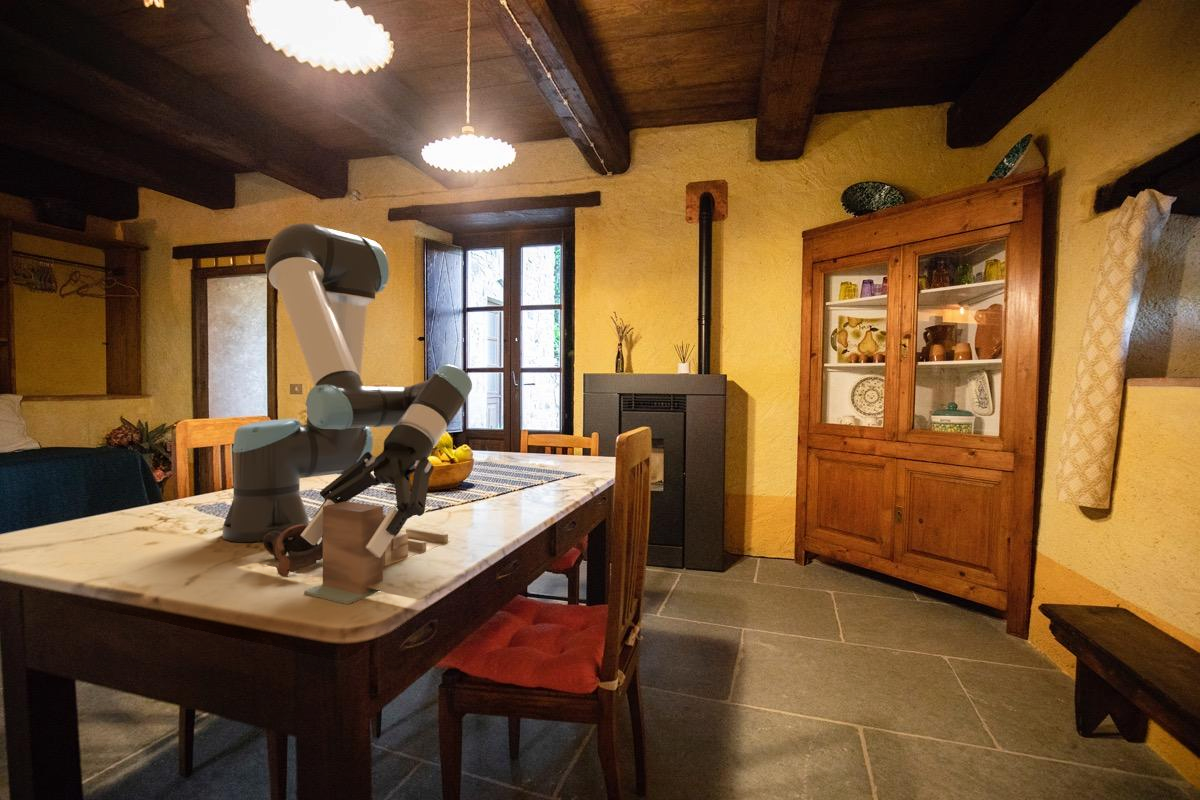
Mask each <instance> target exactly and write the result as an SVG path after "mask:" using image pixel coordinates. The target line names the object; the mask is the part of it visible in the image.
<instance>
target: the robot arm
mask: <svg viewBox="0 0 1200 800" xmlns="http://www.w3.org/2000/svg"><path fill="white" fill-rule="evenodd" d="M264 267H265V272H266V274H267V278H268V280H269V283H270V284H271V286H272V287H273V288H275V289H276V290H278V291H279V293H280V296H281V299H282V301H283V303H284V306H285V309H286V312H287V316H288V317H289V320H290V323H291V326H292V329H293V331H294V334H295V337H296V340H297V342H298V345H299V347H300V351H301V353H302V356H303V359H304V361H305V364H306V367H307V369H308V372H309V375H310V377H311V380H312V383H313V385H314V387H312V388H311V389H310V390H309V391H308V393H307V396H306V400H305V407H306V417H307V418H306V424H301V421H300V419H298V418H282V419H269V420H262V421H257V422H256V421H255V422H250V423H248V424H244V425H241V426H239V427H238V428H237V429H236V430H235V432H234V435H233V436H234V437H233V445H232V446H233V447H232V449H231V450H232V453H233V458H232V459H233V477H232V479H233V497H232V498H233V499H232V501H231V504H230V507H229V510H228V512H227V515H226V517H225V519H224V523H223V525H222V539H223V540H225V541H229V542H233V543H234V542H235V543H255V541H257V542H263V541H262V540H263V539H264V536H265V535H266V534H267V533H268V532H271V531H280V532H283V531H285V530H286V529H288V528H290V527H292V526H295V525H299V524H308V526H307V527H306V528H305V530H304V531H303V532H302V534H301V535H300V536H302V537H303V538H304V539H305V540H307V541H308V542H309V543H310V544H312V545H316V543H317V544H318V542H319V540H320V539H322V535H323V506H327V505H332V504H336V503H341V502H349V501H350V500H351V499H354V497H356V496H359V495H360V494H361V493H364V491H366V490H368V489H370V488H371V487H376V486H379V485H380V484H382V485H383V484H386V485H387V484H390V485H394V489H395V498H396V504H394V506H395V508H390V509H389V511H388V512H387V514H386V515H387V516H386V517H385V519H384V520H383V522H382V523H381V525H380V526H379V528H378V529H377V531H376V532H375V534H374V535H373V537H372V538H371V540H370V541H369V543H368V545H367V546H366V548H367V549H368V550H369V551H370V552H371V553H372V554H374V555H375V556H376V557H379V558H381V556H382V554H383V553H384V551H385V550H386V548H387V546H388V545H389V543H390V542H391V540H392V538H393V537H394V535H395V536H396V535H397V534H398V533H401V532H400V531H401V530H402V528H404V527H403V526H404V525H405V523H407V520H408V519H410V518H412V516H415V515H417V516H418V517H421V516H422V515H424V514H425V511H426V503H427V496H428V490H429V489H428V488H429V482H430V477H431V475H432V473H433V471H434V468H435V466H434V465H433V464H432V463H431V461H430V459H429V458H430V455H431V453H432V452H433V451H434V448H435V447H436V446H437V444H438V443H439V441H440V440H441V438H442V436H443V435H444V433H445V432H446V431H447V428H448V427H449V425H451V423H452V421H453V420H454V418H455V417H456V415H457V414H458V413H459V411H460V409H461V408H462V407H463V405H464V404H465V403H466V402H467V399H468V397H469V395H470V393H471V392H472V387H473V383H472V380H471V377H470V376H469V375H468V374H467V373H466V372H465V371H464V370H463V369H462V368H460V367H458V366H455V365H453V364H442V365H440V366H439V367H438V368H437V369H436V370H435V371H433V372H432V374H431V376H430V378H428V379H427V380H424V381H421V382H419V383H416V384H412V385H408V386H377V385H376V386H374V385H373V386H372V385H364V383H363V381H362V379H361V375H362V365H363V353H364V343H365V331H366V321H367V320H366V319H367V311H368V310H367V309H368V306H369V305H371V304H373V302H375V301H376V294H377V293H381V292H382V291H384V289H385V288H386V285H387V284H388V281H389V275H390V274H389V273H390V266H389V260H388V258H387V255H386V252H385V251H384V249H383V248H382V246H381V245H380V244H379V243H377V242H376V241H375V240H371V239H369V238H366V237H364V236H362V235H356V234H353V233H348V232H344V231H341V230H336V229H332V228H328V227H324V226H321V225H318V224H314V223H308V222H307V223H306V222H300V223H293V224H290V225H287V226H286V227H284V228H283V229H281V230H279V231H277V233H276V234H275V235H274V236H273V237H272V238H271V239H270V241H269V243H268V245H267V247H266V251H265V255H264ZM385 427H387V428H388V427H389V428H390V427H391V428H392V430H391V431H390V432H389V433H388V434H387V436H386V437H385V439H384V441H383V451H382V452H381V453H380V454H379V455H377V456H375V455H373V454H372V451H373V445H374V439H373V437H374V436H373V435H372V430H371V428H385ZM372 472H373V473H372ZM412 474H413V478H412V479H413V480H412V482H411V475H412ZM330 475H338V477H337V478H335V479H334V480H333V481H332V482H330V483H329V484H328V485H326V486H325V487H324V488H323V489H321V490H320V491H319V496H321V497H322V498H323V499H324V501H323V503H322V504H321V506H320V507H319V508H318V510H316V512H315V513H314V515H313V516H312V517H313V518H311V521H310V519H309V515H308V512H307V510H306V506H305V505H304V502H303V499H302V496H301V493H300V492H301V491H300V489H301V488H300V485H301V484H300V482H301V481H300V479H307V478H313V477H321V476H323V477H325V476H330ZM411 483H412V484H411Z"/></svg>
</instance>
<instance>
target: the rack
mask: <svg viewBox="0 0 1200 800" xmlns="http://www.w3.org/2000/svg"><path fill="white" fill-rule="evenodd" d="M386 516H387V514H383V520H384V519H385V517H386ZM451 542H452V541H451V540H449V534H448V533H444V532H437V531H432V530H424V529H418V528H411V527H409V528H406V529H405V532H399V533H398V534H397V535H396V536H395V535H394V537H393V538H392V540H391V542H390V543H389V545H388V546H387V548H386V550H385V551H384V553H383V567H387V566H390V565H393V564H395V563H398V562H400V561H403V560H406V559H407V558H411V557H413V556H416V555H419V554H421V553H424V552H427V551H429V550H432V549H435V548H437V547H439V546H442V545H445V544H447V543H451Z"/></svg>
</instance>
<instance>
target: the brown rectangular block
mask: <svg viewBox="0 0 1200 800" xmlns="http://www.w3.org/2000/svg"><path fill="white" fill-rule="evenodd" d="M383 515H384V506H382V505H381V506H380V505H374V504H365V503H359V502H351V501H347V502H341V503H336V504H332V505H327V506H323V558H322V584H323V586H327V587H331V588H335V589H339V590H344V591H348V592H352V593H356V594H360V595H361V594H363V593H366V592H368V591H370V590H373V589H374V588H371V587H370V586H373V585H375V584H378V583H380V582H383V579H384V578H383V577H384V576H383V575H384V566H383V554H382V556H381V558H379V557H376V556H375V555H374V554H372V553H371V552H370V551H369V550H368V549H367V548H366V546H367V545H368V543H369V541H370V540H371V538H372V537H373V535H374V534H375V532H376V531H377V529H378V528H379V526H380V525H381V523H382V522H383Z"/></svg>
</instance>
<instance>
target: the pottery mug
mask: <svg viewBox="0 0 1200 800" xmlns="http://www.w3.org/2000/svg"><path fill="white" fill-rule="evenodd" d="M307 526H308V524H299V525H295V526H292V527H290V528H288V529H286V530H285V531H283V532H280V531H271V532H268V533H267V534H266V535H265V536H264V539H263V541H262V544H263V546H264V548H265V549H266V551H268V553H270V555H271V556H273V557H274V561H276V562H277V561H279V563H278V566H277V568H276V571H277V575H279V576H281V577H284V578H286V577H288V575H289V574H290V573H291V572H293V571H298V570H299V571H300V570H301V569H305V568H308V567H310V566H313V565H316V564H317V562H318V561H322V560H323V535H322V537H321V540H320V542H319V543H318V542H317V543H316V545H312V544H310V543H309V542H308V541H307V540H305V539H304V538H303V537H302V536H300V535H301V534H302V532H303V531H304V530H305V528H306V527H307ZM290 537H292V538H290ZM287 553H288V555H287Z"/></svg>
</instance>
